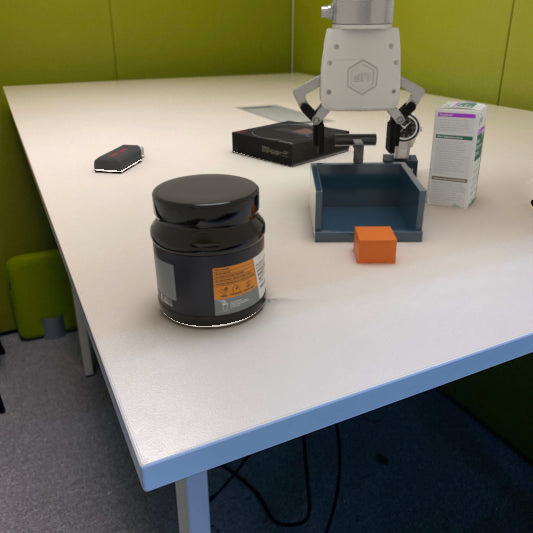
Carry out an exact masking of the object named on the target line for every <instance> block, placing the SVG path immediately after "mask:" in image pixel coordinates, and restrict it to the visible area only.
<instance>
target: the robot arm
mask: <svg viewBox="0 0 533 533" xmlns="http://www.w3.org/2000/svg"><path fill="white" fill-rule="evenodd" d="M394 9H395V0H332V1H331V3H329V4H327V5H323V6H321V7H320V18H321V19H327V20H329V21H331V27H328V28H326V30H325V35H324V41H323V48H322V55H321V62H320V72H319V73H320V74H318V75H316V76H315V77H313V78H311V79H309V80H307V81H306V82H303V83H302V84H300V85H298V86H296V87H295V88H293V89H292V96H293V97H294V99H295V102H296V103H297V105H298V108H299V110H300V111H301V112H302V113H303V114H304V115H305V116H306V118H307V119H309V121H310V122H311V123H312V125H313V147H317V151H318V154H322V153H324V128H325V127H326V126H325V124H324V119H325V118H326V117H327V116H328V114H330V112H383V111H385V112H386V113H388V115H389V116H390V117H389V120H388V121H387V122H386V134H385V146H384V148H385V150H386V151H387V154H394V152H395V146H399V140H400V129H401V124H402V123H403V122H404V120H405V119H406V118H407V117H408V116H409V115H410V114H411V113H412V112H415V111H416V109H417V107H418V105H419V103H420V102H421V101H422V99H423V98H424V96H425V93H426V89H425V88H424V87H422V86H420V85H419V84H417V83H415V82H414V81H412V80H410V79H408V78H406V77H405V76H403V75H401V72H402V71H401V70H402V69H401V68H402V63H401V62H402V60H401V59H402V54H401V50H402V49H401V34H400V28H399V27H395V26H394V27H393V23H394V11H395V10H394ZM401 88H402V89H403V90H406V91H407V92H409V97H408V99H407V101H405V103H403V104H402V105H401V106H400V107H399V108H398V107H397V106H398V105H399V102H400V95H401ZM317 89H319V100H320V103H319V104H318V106H317V107H316V108H315V109H314V108H313V107H312V106H311V105H310V104H309V102H308V100H307V98H306V96H307V95H308V94H309V93H311V92H313V91H315V90H317Z"/></svg>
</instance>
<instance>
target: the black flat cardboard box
mask: <svg viewBox="0 0 533 533" xmlns="http://www.w3.org/2000/svg"><path fill="white" fill-rule="evenodd" d="M324 127H325V128H324V153H322V154H318V151H317V147H313V123H312V124H311V123H305V122H299V121H294V120H285V121H279V122H275V123H271V124H266V125H260V126H255V127H251V128H245V129H241V130H236V131H232V132H231V143H232V144H231V145H232V146H231V148H232V152H233V151H235V152H238V153H242V154H245V155H244V156H246V155H249V156H248V157H250V156H253V157H252V158H254V157H256V158H255V159H258V158H260V159H259V160H262V159H264V160H263V161H266V160H268V161H267V162H270V161H272V162H271V163H274V162H276V163H275V164H278V163H280V164H279V165H282V164H284V165H283V166H286V165H288V166H287V167H290V166H294V167H296V165H297V166H301V165H304V164H307V163H312V162H315V161H318V160H322V159H326V158H329V157H332V156H336V155H340V154H343V153H347V152H349V151H350V150H349V149H350V148H351V146H335V144H334V138H335V134H350V130H346V129H339V128H334V127H328V126H324ZM238 153H237V154H238ZM242 154H241V155H242ZM300 164H301V165H300Z"/></svg>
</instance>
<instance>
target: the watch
mask: <svg viewBox="0 0 533 533" xmlns="http://www.w3.org/2000/svg"><path fill="white" fill-rule="evenodd" d="M421 132H422V133H423V126H421V123H420V120H419V119H418V118H417V115H416V113H415V111H413V112H412V113H411V114H410V115H409V116H408V117H407V118H406V119H405V120H404V122H403V123H402V124H401V129H400V140H399V146H395V152H394V154H390V153H382V161H381V162H405V163H406V164H407V166H408V167H409V168H410V170H411V171H412V172H413V174H414V175H415V176H416V177H417V175H418V167H419V165H418V164H419V160H418V158H417V155H416V154H410V153H411V148H413V147H414V145H415V143H416V139H417V138H418V136H419V134H420V133H421Z"/></svg>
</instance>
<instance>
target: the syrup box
mask: <svg viewBox="0 0 533 533" xmlns="http://www.w3.org/2000/svg"><path fill="white" fill-rule="evenodd" d="M488 108H489V105H488V103H485V102H478V101H470V100H469V101H468V100H466V101H465V100H455V101H446V102H445V103H444V104H441V105H440V106H437V107H436V108H435V111H434V112H435V114H434V124H433V132H432V140H431V141H432V143H431V150H430V162H429V172H428V182H427V190H426V191H427V192H426V200H425V204H430V205H438V206H443V207H450V208H457V209H464V210H468V209H469V207H471V205H472V204H473V203H474V201H475V199H476V197H477V190H478V181H479V174H480V169H481V168H480V167H481V160H482V153H483V148H484V147H483V146H484V140H485V139H484V137H485V130H486V123H487V115H488V110H489V109H488Z"/></svg>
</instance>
